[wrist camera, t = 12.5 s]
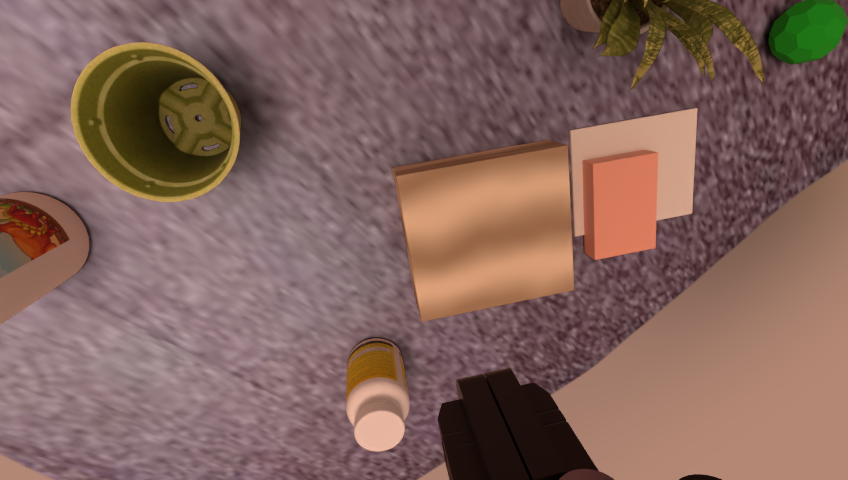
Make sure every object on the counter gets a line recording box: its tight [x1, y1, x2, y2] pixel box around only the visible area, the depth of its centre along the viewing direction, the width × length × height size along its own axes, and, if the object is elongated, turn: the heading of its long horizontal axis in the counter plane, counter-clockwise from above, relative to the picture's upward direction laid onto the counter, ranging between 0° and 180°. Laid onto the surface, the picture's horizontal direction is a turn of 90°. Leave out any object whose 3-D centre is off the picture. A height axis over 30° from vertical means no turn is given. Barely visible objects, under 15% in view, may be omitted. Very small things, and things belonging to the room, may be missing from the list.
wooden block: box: [392, 140, 574, 322], centre depth 40 cm, size 13×14×4 cm
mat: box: [569, 108, 697, 237], centre depth 42 cm, size 10×12×1 cm
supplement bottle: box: [346, 338, 410, 451], centre depth 40 cm, size 5×5×10 cm
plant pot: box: [71, 42, 241, 202], centre depth 32 cm, size 9×9×9 cm
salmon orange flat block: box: [582, 150, 658, 260], centre depth 42 cm, size 9×6×2 cm, turn 9°
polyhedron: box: [768, 0, 848, 64], centre depth 38 cm, size 5×5×5 cm
